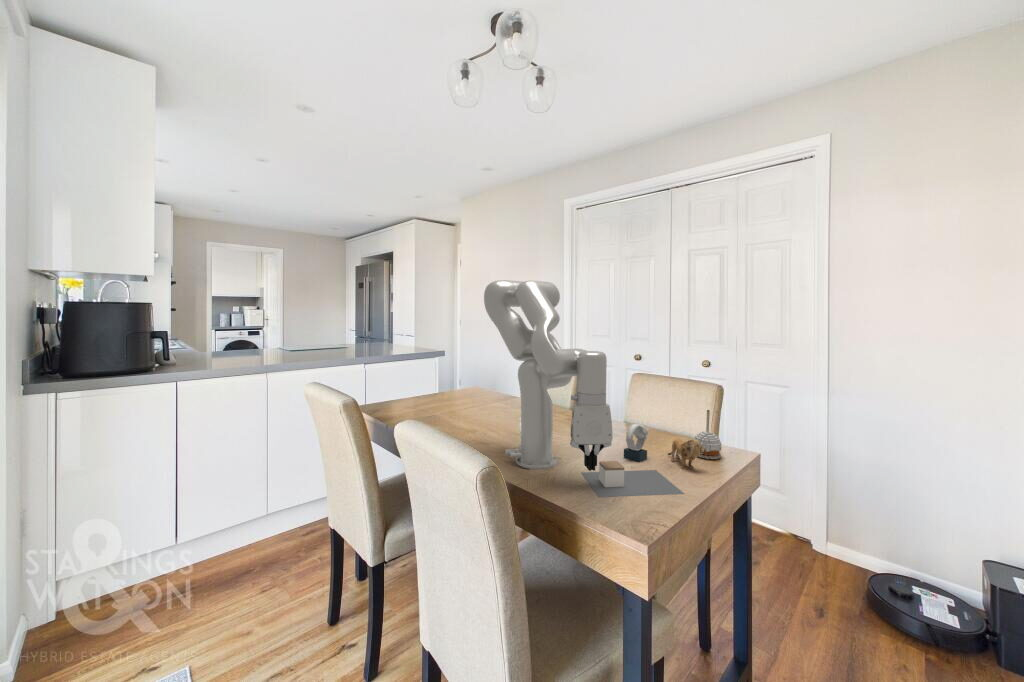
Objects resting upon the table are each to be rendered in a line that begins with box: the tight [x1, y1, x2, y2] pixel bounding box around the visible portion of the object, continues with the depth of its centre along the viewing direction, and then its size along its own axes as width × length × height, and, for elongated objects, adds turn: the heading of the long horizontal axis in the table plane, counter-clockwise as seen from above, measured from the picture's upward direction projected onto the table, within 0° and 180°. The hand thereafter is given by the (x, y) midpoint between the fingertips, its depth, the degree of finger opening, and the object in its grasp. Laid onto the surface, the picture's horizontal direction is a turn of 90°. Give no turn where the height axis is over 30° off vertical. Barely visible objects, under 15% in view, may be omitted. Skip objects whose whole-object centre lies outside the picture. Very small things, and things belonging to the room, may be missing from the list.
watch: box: [623, 423, 649, 463], centre depth 129 cm, size 6×8×11 cm
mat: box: [580, 469, 685, 498], centre depth 110 cm, size 22×16×1 cm
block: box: [598, 460, 625, 487], centre depth 109 cm, size 5×5×5 cm
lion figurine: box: [667, 438, 705, 470], centre depth 125 cm, size 15×5×9 cm, turn 14°
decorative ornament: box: [692, 409, 722, 460], centre depth 132 cm, size 8×8×15 cm
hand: (590, 468), depth 108 cm, fingers closed
